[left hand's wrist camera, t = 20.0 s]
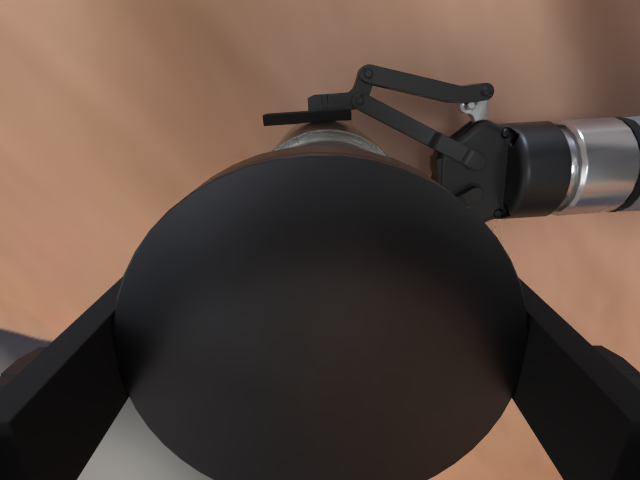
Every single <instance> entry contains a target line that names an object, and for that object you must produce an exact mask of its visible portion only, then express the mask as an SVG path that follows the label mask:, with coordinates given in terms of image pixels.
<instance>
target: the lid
mask: <svg viewBox="0 0 640 480" xmlns="http://www.w3.org/2000/svg"><path fill="white" fill-rule="evenodd" d="M527 335H528V326H527V313H526V304H525V300H524V296H523V292H522V288H521V283H520V281H519V278H518V276H517V274H516V271H515V269H514V266H513V264H512V262H511V259H510V258H509V256H508V254H507V253H506V251H505V250H504V248H503V246H502V245H501V243H500V241H499V240H498V238H497V237H496V236H495V235H494V233H493V232H492V231H491V230H490V229H489V227H488V226H487V225H486V224H485V223H484V222H483V220H482V219H481V218H480V217H479V216H478V215H477V214H476V213H474V212H473V211H472V210H471V209H470V208H469V207H468V206H466V205H465V204H464V203H463V202H462V201H461V200H459V199H458V198H457V197H456V196H454V195H453V194H452V193H450V192H449V191H448V190H447V189H445V188H444V187H443V186H441V185H440V184H439V183H437V182H436V181H434V180H433V179H431V178H429V177H428V176H426V175H425V174H423V173H422V172H420V171H418V170H417V169H415V168H413V167H411V166H409V165H406V164H404V163H402V162H400V161H398V160H395V159H393V158H391V157H387V156H384V155H381V154H377V153H374V152H371V151H367V150H362V149H356V148H349V147H343V146H322V145H309V146H301V147H292V148H283V149H279V150H276V151H272V152H268V153H264V154H260V155H256V156H254V157H251V158H249V159H247V160H244V161H242V162H239V163H237V164H234V165H232V166H230V167H229V168H227V169H225V170H223V171H222V172H220V173H218V174H216V175H215V176H213V177H211V178H210V179H208V180H207V181H206V182H205V183H203V184H202V185H201V186H199V187H198V188H197V189H195V190H194V191H193V192H191V193H190V194H189V195H188V196H186V197H185V198H184V199H183V200H181V201H180V202H179V203H177V204H176V205H175V206H174V207H172V208H171V209H170V210H169V211H168V212H167V213H166V214H165V215H164V216H163V217H162V218H161V219H160V220H159V221H158V222H157V223H156V224H155V225H154V226H153V228H152V229H151V230H150V231H149V232H148V234H147V235H146V237H145V238H144V240H143V241H142V242H141V244H140V245H139V247H138V248H137V250H136V251H135V253H134V255H133V257H132V259H131V261H130V263H129V265H128V267H127V269H126V272H125V274H124V276H123V279H122V283H121V286H120V290H119V293H118V296H117V301H116V309H115V317H114V347H115V352H116V357H117V362H118V367H119V371H120V374H121V377H122V380H123V383H124V386H125V388H126V391H127V393H128V395H129V397H130V399H131V401H132V402H133V404H134V406H135V408H136V410H137V412H138V413H139V414H140V416H141V417H142V419H143V420H144V422H145V423H146V424H147V426H148V427H149V429H150V430H151V431H152V432H153V433H154V434H155V435H156V436H157V437H158V439H159V440H160V441H161V442H162V443H163V444H164V445H165V446H166V447H167V448H169V449H170V450H171V451H172V452H173V453H174V454H175V455H177V456H178V457H179V458H180V459H181V460H183V461H184V462H186V463H187V464H189V465H190V466H191V467H193V468H194V469H196V470H197V471H199V472H200V473H202V474H204V475H206V476H208V477H210V478H211V479H213V480H428V479H430V478H432V477H434V476H436V475H437V474H439V473H441V472H442V471H444V470H445V469H447V468H448V467H450V466H452V465H453V464H455V463H456V462H457V461H458V460H460V459H461V458H462V457H463V456H465V455H466V454H467V453H468V452H470V451H471V450H472V449H473V448H474V447H475V446H476V445H477V444H478V443H479V442H480V441H481V440H482V439H483V438H484V437H485V436H486V435H487V434H488V433H489V431H490V430H491V429H492V427H493V426H494V425H495V423H496V422H497V421H498V419H499V418H500V417H501V415H502V414H503V412H504V410H505V408H506V407H507V405H508V403H509V401H510V400H511V398H512V396H513V394H514V391H515V389H516V386H517V384H518V381H519V378H520V374H521V370H522V365H523V361H524V356H525V351H526V346H527Z"/></svg>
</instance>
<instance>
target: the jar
mask: <svg viewBox="0 0 640 480" xmlns="http://www.w3.org/2000/svg"><path fill="white" fill-rule="evenodd" d="M309 145H322V146H343V147H349V148H356V149H362V150H367V151H371V152H374V153H377V154H381V155H384V156H387V157H388V155H387V154H386V153H385V152H383V151H382V150H381V149H380V148H379V147H378V146H377V145H376V144H375V143H374V142H373V141H371V140H370V139H369V138H368V137H367V136H366V135H365V134H364V133H362V132H361V131H360V130H359V129H358V128H357V127H355V126H354V125H353V124H351V123H349V122H347V121H330V122H315V123H300V124H298V125H296V126H295V127H293V128H292V129H291V130H290V131H289V132H288V133H287V134H286V135H285V137H284V138H283V139H282V140H281V141H280V142H279V144H278V145H277V146H276V147H275V148H274V150H273V151H276V150H279V149H283V148H292V147H301V146H309Z"/></svg>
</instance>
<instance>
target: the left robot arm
mask: <svg viewBox="0 0 640 480" xmlns="http://www.w3.org/2000/svg"><path fill="white" fill-rule="evenodd" d="M122 279H123V277H122V278H121V279H120V280H119V281H118V282H116V283H115V284H114V285H113V286H112V287H111V288H110V289H109V290H108V291H107V292H106V293H105V294H104V295H102V296H101V297H100V298H99V299H98V300H97V301H96V302H95V303H94V304H93V305H92V306H91V307H89V308H88V309H87V310H86V311H85V312H84V313H83V314H82V315H81V316H80V317H79V318H78V319H77V320H75V321H74V322H73V323H72V324H71V325H70V326H69V327H68V328H67V329H66V330H65V331H64V332H63V333H61V334H60V335H59V336H58V337H57V338H56V339H55V340H54V341H53V342H52V343H51V344H50V345H49V346H47V347H39V348H37V349H35V350H33V351H32V352H30V353H28V354H26V355H24V356H23V357H21V358H19V359H18V360H16V361H15V362H14V363H13V364H12V365H11V366H10V367H8V368H7V369H6V370H5V371H4V372H3V373H2V374H1V377H0V480H77V478H78V477H79V475H80V474H81V472H82V470H83V469H84V467H85V466H86V464H87V463H88V461H89V459H90V458H91V456H92V454H93V453H94V451H95V450H96V448H97V447H98V445H99V443H100V442H101V440H102V439H103V437H104V436H105V434H106V432H107V431H108V429H109V428H110V426H111V424H112V423H113V421H114V420H115V418H116V416H117V415H118V413H119V412H120V410H121V409H122V407H123V405H124V404H125V402H126V401H127V399H128V397H129V395H128V393H127V391H126V388H125V386H124V383H123V380H122V377H121V374H120V371H119V367H118V362H117V357H116V352H115V347H114V317H115V309H116V301H117V296H118V293H119V290H120V286H121V283H122ZM519 281H520V283H521V288H522V292H523V296H524V300H525V304H526V313H527V326H528V335H527V346H526V351H525V356H524V361H523V365H522V370H521V374H520V378H519V381H518V384H517V386H516V389H515V391H514V394H513V396H512V399H513V400H514V402H515V403H516V405H517V407H518V408H519V410H520V411H521V413H522V414H523V416H524V418H525V419H526V421H527V422H528V424H529V426H530V427H531V429H532V430H533V432H534V434H535V435H536V437H537V438H538V440H539V441H540V443H541V445H542V446H543V448H544V449H545V451H546V453H547V454H548V456H549V457H550V459H551V460H552V462H553V464H554V465H555V467H556V468H557V470H558V472H559V473H560V475H561V476H562V478H563V480H640V372H639V371H637V370H636V369H635V368H634V367H633V366H632V365H631V364H629V363H628V362H627V361H626V360H625V359H624V358H622V357H620V356H619V355H617V354H615V353H613V352H612V351H610V350H608V349H606V348H604V347H603V346H592V345H591V344H590V343H589V342H587V341H586V340H585V339H584V338H583V337H582V336H581V335H580V334H579V333H578V332H577V331H576V330H575V329H573V328H572V327H571V326H570V325H569V324H568V323H567V322H566V321H565V320H564V319H563V318H562V317H560V316H559V315H558V314H557V313H556V312H555V311H554V310H553V309H552V308H551V307H550V306H549V305H548V304H546V303H545V302H544V301H543V300H542V299H541V298H540V297H539V296H538V295H537V294H536V293H535V292H534V291H532V290H531V289H530V288H529V287H528V286H527V285H526V284H525V283H524V282H523V281H522V280H521V279H520V278H519Z"/></svg>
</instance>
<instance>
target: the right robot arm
mask: <svg viewBox="0 0 640 480" xmlns="http://www.w3.org/2000/svg"><path fill="white" fill-rule="evenodd" d="M372 86H377V87H381V88H385V89H389V90H394V91H398V92H402V93H407V94H411V95H415V96H419V97H424V98H428V99H432V100H437V101H441V102H447V103H456V107H457V110H458V111H459V112H461V113H466V114H468V115H469V117H470V122H468V123H467V124H466V125H464V126H463V127H462V128H460V129H459V130H458V131H457V132H455V133H454V134H453V135H451V136H450V137H447V136H445V135H443V134H441V133H439V132H437V131H435V130H433V129H431V128H429V127H427V126H426V125H424V124H422V123H420V122H418V121H416V120H414V119H412V118H410V117H409V116H407V115H405V114H403V113H401V112H399V111H397V110H395V109H393V108H391V107H390V106H388V105H386V104H384V103H382V102H380V101H378V100H376V99H374V98H372V97H371V96H369V95H370V92H371V88H372ZM493 93H494V88H493V86H492V85H491V84H489V83H478V84H469V85H462V86H459V85H454V84H450V83H446V82H442V81H438V80H433V79H429V78H425V77H421V76H416V75H412V74H408V73H404V72H400V71H395V70H391V69H387V68H383V67H378V66H374V65H365V66H363V67H361V68H360V69H359V70H358V72H357V77H356V80H355V84H354V86H353V88H352V90H350V91H349V92H347V93H337V94H322V95H313V96H311V97H309V98H308V109H309V111H300V112H285V113H270V114H265V115H263V123H264V126H270V125H285V124H300V123H315V122H330V121H345V120H351V110H354V109H357V110H359V111H361V112H363V113H365V114H367V115H369V116H371V117H373V118H375V119H376V120H378V121H380V122H382V123H384V124H386V125H388V126H390V127H392V128H394V129H396V130H398V131H400V132H402V133H403V134H405V135H407V136H409V137H411V138H413V139H415V140H417V141H419V142H421V143H423V144H425V145H427V146H428V147H430V148H432V149H434V152H433V155H432V156H430V167H431V171H432V176H431V179H433V180H434V181H436V182H437V183H439V184H440V185H441V186H443V187H444V188H445V189H447V190H448V191H449V192H450V193H452V194H453V195H454V196H456V197H457V198H458V199H459V200H461V201H462V202H463V203H464V204H465V205H466V206H468V207H469V208H470V209H471V210H472V211H473V212H474V213H476V214H477V215H478V216H479V217H480V218H481V219H482V220H483V222H484V223H485V222H487V221H489V220H492V219H507V218H523V217H539V216H547V215H549V214H553V215H558V216H560V215H573V214H586V213H598V212H616V211H636V210H640V116H631V117H608V118H591V119H574V120H560V121H556V122H554V123H552V122H549V121H540V122H526V123H511V124H495V123H493V122H491V121H489V120H488V100H489V99H490V98H491V97H492V96H493Z"/></svg>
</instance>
